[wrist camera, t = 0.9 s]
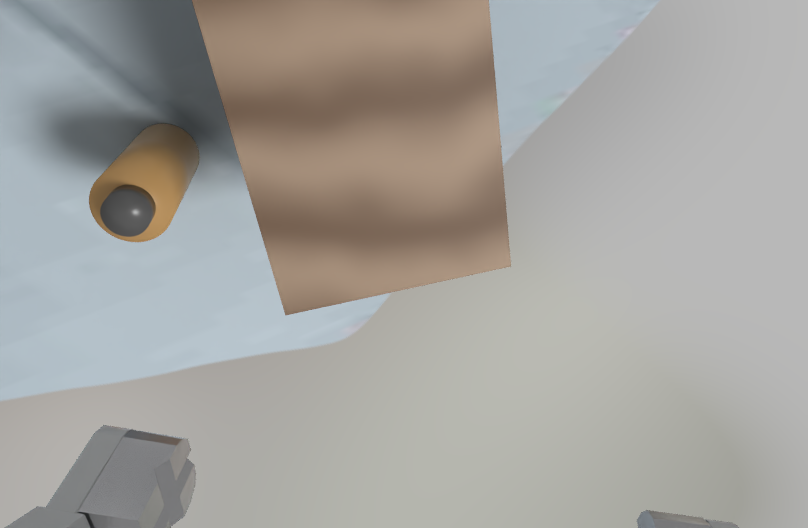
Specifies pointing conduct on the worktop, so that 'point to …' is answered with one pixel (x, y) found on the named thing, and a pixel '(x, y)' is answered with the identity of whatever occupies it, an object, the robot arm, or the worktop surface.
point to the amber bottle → (145, 184)
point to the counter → (364, 140)
